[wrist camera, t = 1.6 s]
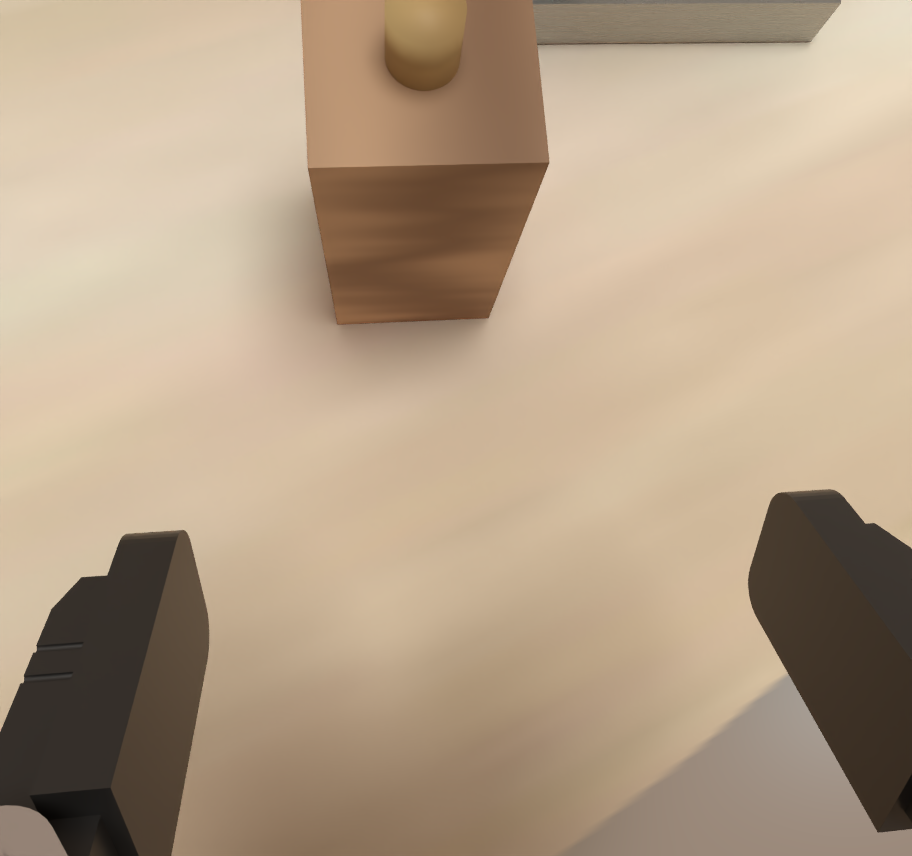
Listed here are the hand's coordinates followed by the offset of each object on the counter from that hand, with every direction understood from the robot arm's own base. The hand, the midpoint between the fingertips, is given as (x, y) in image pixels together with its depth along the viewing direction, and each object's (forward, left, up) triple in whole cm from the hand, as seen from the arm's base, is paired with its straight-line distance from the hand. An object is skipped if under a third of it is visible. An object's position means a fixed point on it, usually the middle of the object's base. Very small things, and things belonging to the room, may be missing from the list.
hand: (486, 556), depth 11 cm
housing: (-2, +10, -14) cm, 18 cm away
